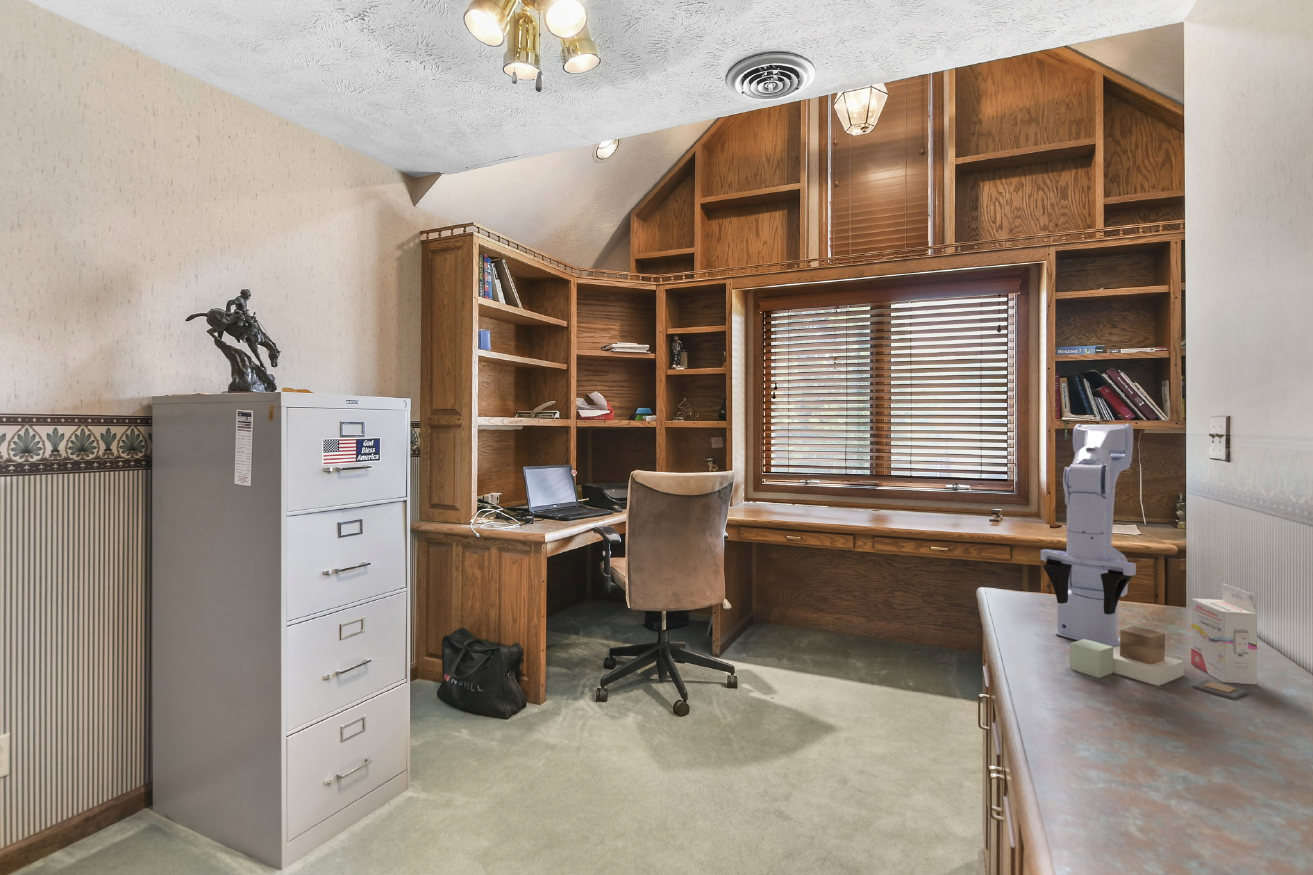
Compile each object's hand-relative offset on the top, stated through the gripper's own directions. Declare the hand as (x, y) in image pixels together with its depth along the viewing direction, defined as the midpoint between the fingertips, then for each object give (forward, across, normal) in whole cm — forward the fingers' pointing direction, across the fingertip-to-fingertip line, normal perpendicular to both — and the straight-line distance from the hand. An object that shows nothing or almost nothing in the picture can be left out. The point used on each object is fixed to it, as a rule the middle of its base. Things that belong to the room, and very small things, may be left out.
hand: (1085, 607), depth 109 cm
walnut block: (+7, +8, +3) cm, 11 cm away
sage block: (+10, +3, -4) cm, 11 cm away
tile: (+9, +17, +5) cm, 20 cm away
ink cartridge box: (+10, +14, +14) cm, 22 cm away
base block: (+10, +7, +3) cm, 13 cm away
